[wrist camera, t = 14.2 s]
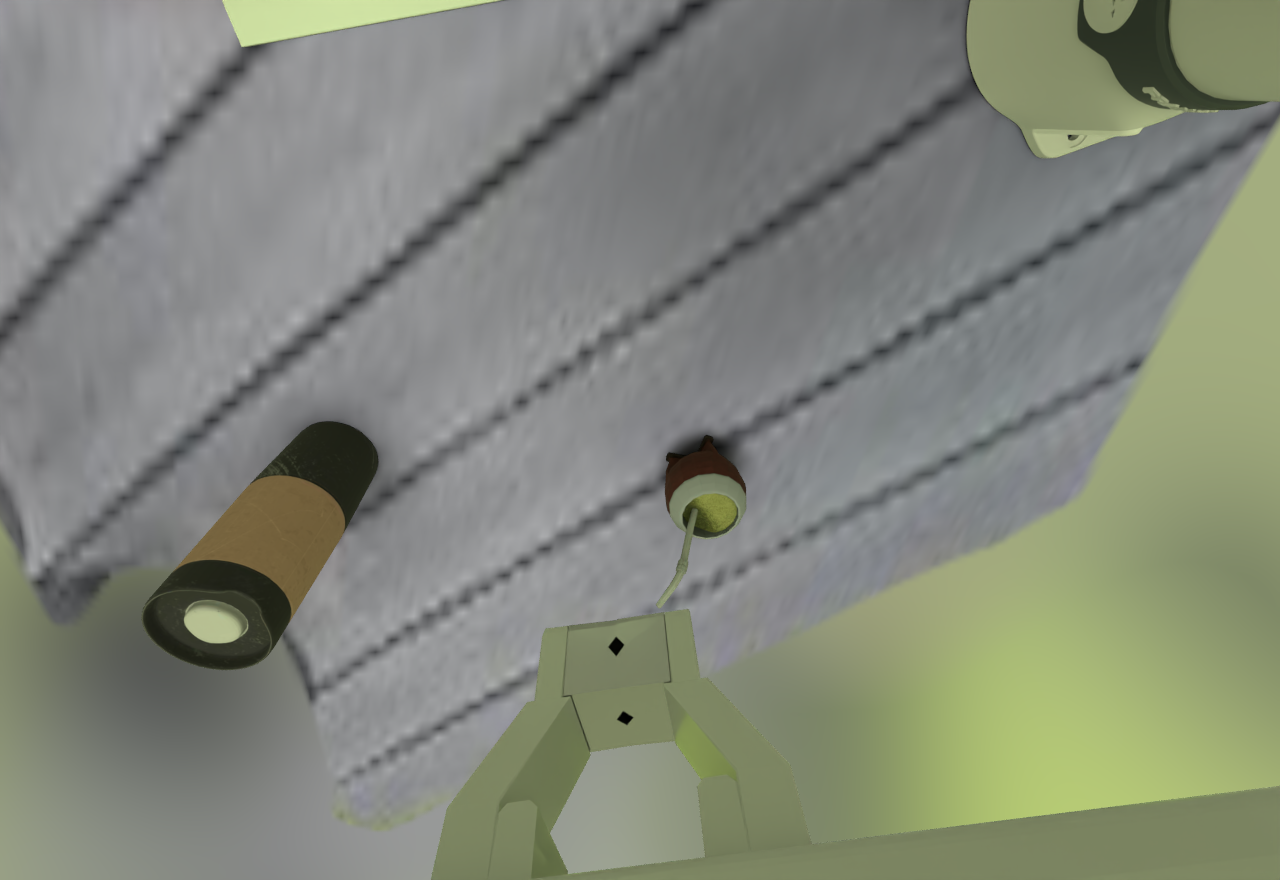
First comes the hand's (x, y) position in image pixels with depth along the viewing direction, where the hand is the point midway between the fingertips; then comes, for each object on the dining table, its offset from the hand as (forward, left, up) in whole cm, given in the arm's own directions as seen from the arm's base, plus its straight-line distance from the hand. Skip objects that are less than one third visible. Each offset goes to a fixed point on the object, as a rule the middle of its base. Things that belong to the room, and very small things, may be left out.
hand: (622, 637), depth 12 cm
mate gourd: (-4, +22, -37) cm, 44 cm away
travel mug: (+28, +15, -37) cm, 49 cm away
